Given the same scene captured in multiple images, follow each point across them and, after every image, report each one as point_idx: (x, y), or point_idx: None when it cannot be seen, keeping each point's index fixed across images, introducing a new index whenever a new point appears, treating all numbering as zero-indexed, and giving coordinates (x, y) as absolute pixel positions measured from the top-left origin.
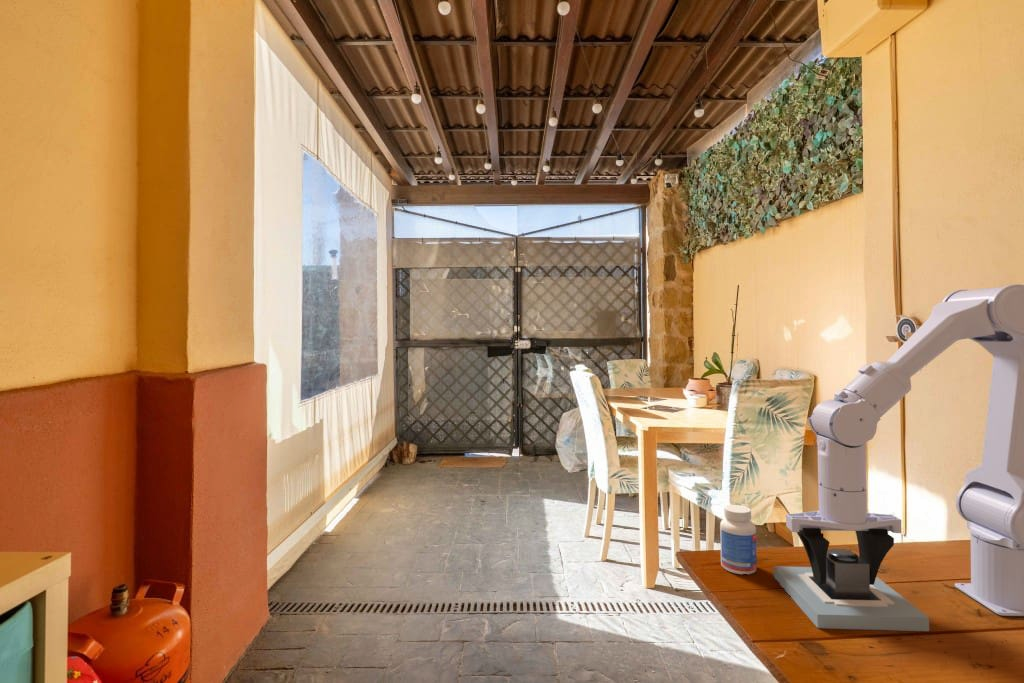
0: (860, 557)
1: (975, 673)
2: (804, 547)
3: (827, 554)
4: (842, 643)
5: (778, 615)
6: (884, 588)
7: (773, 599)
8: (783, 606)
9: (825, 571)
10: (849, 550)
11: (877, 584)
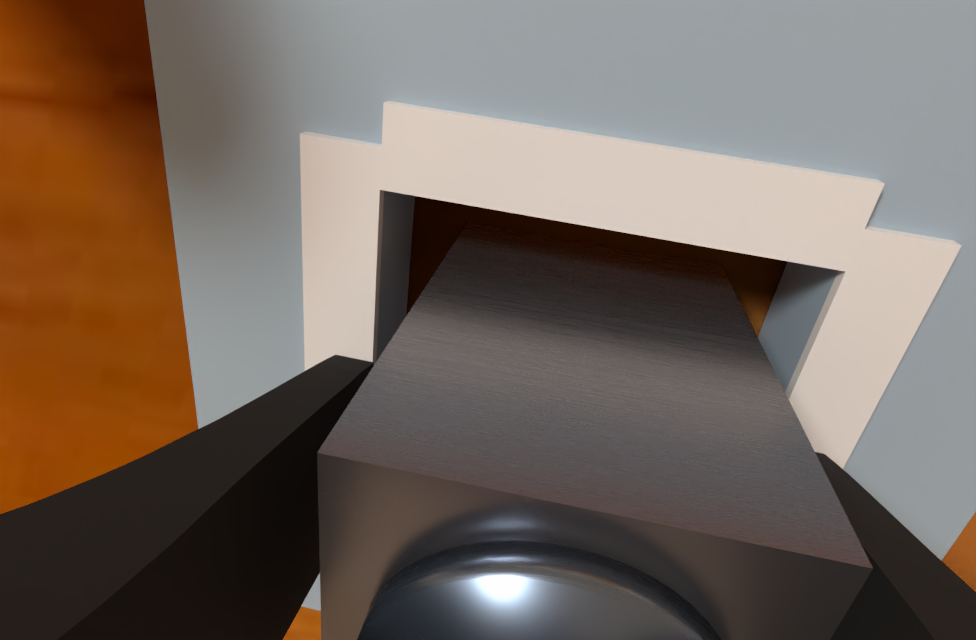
0: (883, 619)
1: None
2: (40, 505)
3: (375, 586)
4: (313, 615)
5: (107, 407)
6: (931, 463)
7: (118, 255)
8: (157, 337)
9: (308, 580)
10: (845, 571)
11: (951, 397)
